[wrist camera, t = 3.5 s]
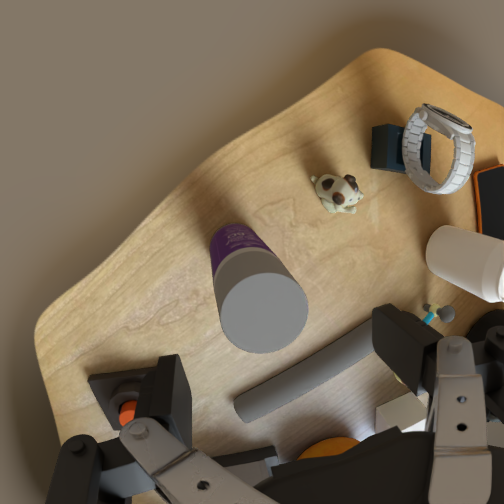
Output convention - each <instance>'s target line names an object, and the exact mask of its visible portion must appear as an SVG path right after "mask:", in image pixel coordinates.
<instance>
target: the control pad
mask: <svg viewBox="0 0 504 504" xmlns="http://www.w3.org/2000/svg"><path fill="white" fill-rule="evenodd" d="M150 370H157V367H152V368H145V369H137V370H130V371H122V372H114V373H105V374H96V375H90V376H89V378H88V383H89V385H90V387H91V389H92V391H93V393H94V395H95V397H96V399H97V401H98V403H99V404H100V406H101V408H102V410H103V412H104V414H105V415H106V417H107V419H108V421H109V423H110V424H111V426H112V428H113V429H114V430H121V428H122V427H123V426H122V425H121V423H120V421H119V416H120V412H121V408H122V405H123V404H124V403H125V402H127V401H131V400H138V396H139V391H140V389H141V388H140V387H141V382H142V379H143V378H144V376H145V375H146V374H147V373H148V371H150Z"/></svg>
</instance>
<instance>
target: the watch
mask: <svg viewBox="0 0 504 504" xmlns="http://www.w3.org/2000/svg"><path fill="white" fill-rule="evenodd" d="M427 126H429V127H431V128H432V129H434V130H436V131H438V132H439V133H441V134H443V135H445V136H447V138H449V139H451V140H454V146H455V148H454V158H455V159H453V162H452V165H451V168H452V169H450V171H449V173H448V175H447V178H445V180H444V181H443V182H442V184H438V183H437V182H436V181H435V180H434V179H433V178H432V177H431V176H430V162H431V135H430V134H426V133H424V132H425V130H426V128H427ZM472 131H473V128H472V127H471V126H470V125H469V124H467V123H466V122H465V121H463V120H462V119H460V118H459V117H457V116H455V115H453V114H451V113H450V112H448V111H445V110H443V109H441V108H438V107H436V106H433V105H430V104H422V108H421V107H417V108H415V111H414V113H413V114H412V115H411V116H410V118H409V120H408V121H407V124H406V126H405V128H404V127H400V126H396V125H392V124H385V125H380V126H376V127H372V152H371V168H372V169H379V170H385V171H391V172H397V173H403V174H407V175H408V176H409V178H410V179H411V180H412V181H413V183H414V184H415V185H417V186H418V187H419V188H420V189H422V190H423V191H425V192H429V193H433V194H451V193H454V192H456V191H458V189H460V188H461V187H462V186H463V185H464V184H465V183H466V181H467V180H468V178H469V176H470V174H471V171H472V168H473V163H474V158H475V153H474V152H475V144H476V143H475V139H474V137H473V135H472V133H471V132H472ZM465 153H466V154H465ZM460 163H461V164H460ZM471 163H472V164H471ZM463 164H464V165H463Z"/></svg>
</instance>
